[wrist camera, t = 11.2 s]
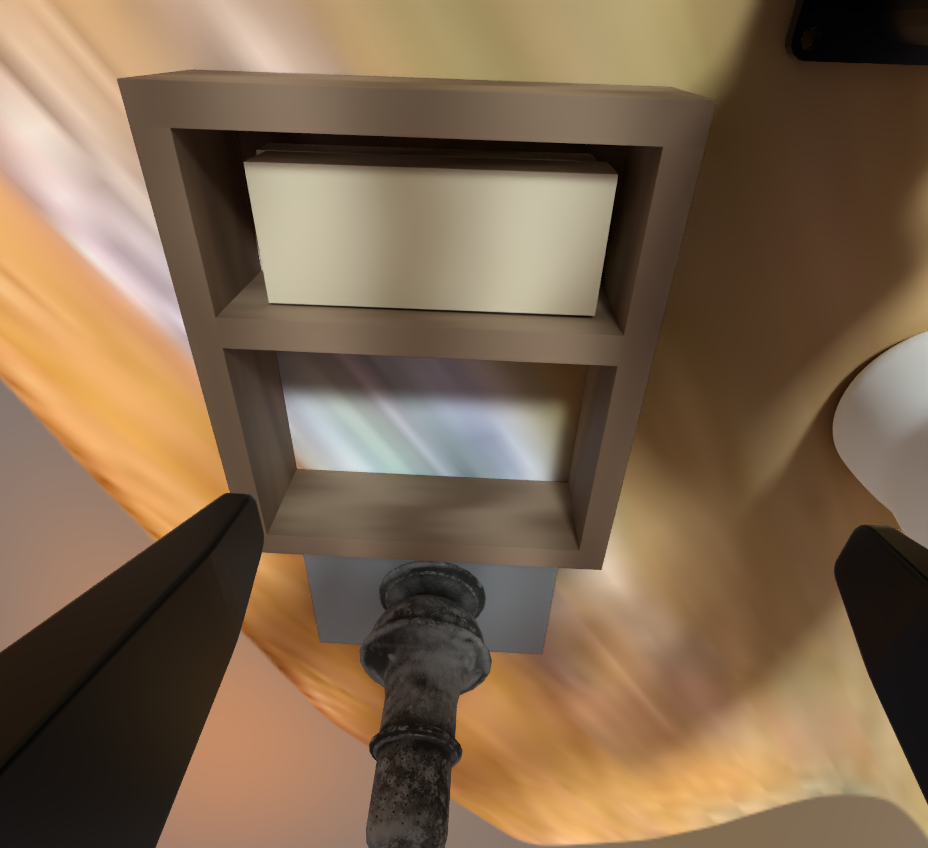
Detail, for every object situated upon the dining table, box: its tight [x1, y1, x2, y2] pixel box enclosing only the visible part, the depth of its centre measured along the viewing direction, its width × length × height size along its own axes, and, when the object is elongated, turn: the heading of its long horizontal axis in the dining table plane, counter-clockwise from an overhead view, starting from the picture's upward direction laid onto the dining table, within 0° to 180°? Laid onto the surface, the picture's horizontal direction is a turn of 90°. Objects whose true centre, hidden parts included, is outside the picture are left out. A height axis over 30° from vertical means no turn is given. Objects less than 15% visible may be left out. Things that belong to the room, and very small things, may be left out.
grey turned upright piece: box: [360, 561, 492, 848], centre depth 23 cm, size 6×6×12 cm
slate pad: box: [303, 554, 558, 654], centre depth 29 cm, size 12×8×1 cm
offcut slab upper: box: [244, 151, 618, 316], centre depth 17 cm, size 10×4×2 cm, turn 89°
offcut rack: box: [117, 70, 716, 570], centre depth 19 cm, size 14×16×4 cm
